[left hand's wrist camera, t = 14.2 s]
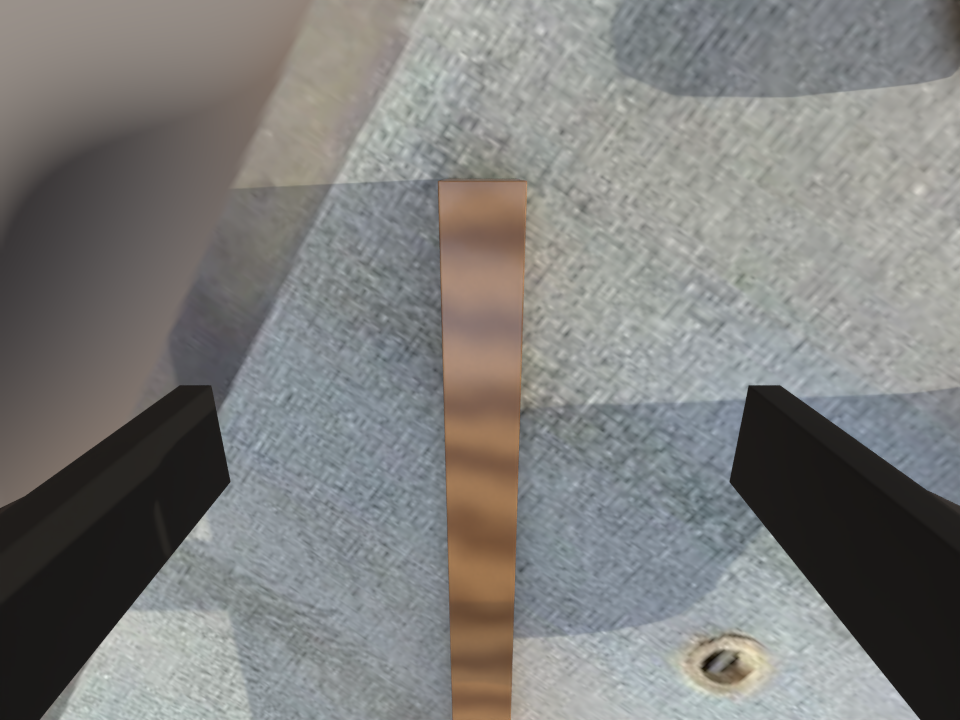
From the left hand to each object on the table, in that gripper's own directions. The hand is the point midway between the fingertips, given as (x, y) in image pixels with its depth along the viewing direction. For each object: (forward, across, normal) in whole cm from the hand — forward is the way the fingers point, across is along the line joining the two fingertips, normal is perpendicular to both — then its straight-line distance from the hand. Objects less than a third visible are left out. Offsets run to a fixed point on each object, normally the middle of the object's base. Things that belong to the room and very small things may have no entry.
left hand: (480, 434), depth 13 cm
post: (+27, 0, -30) cm, 40 cm away
